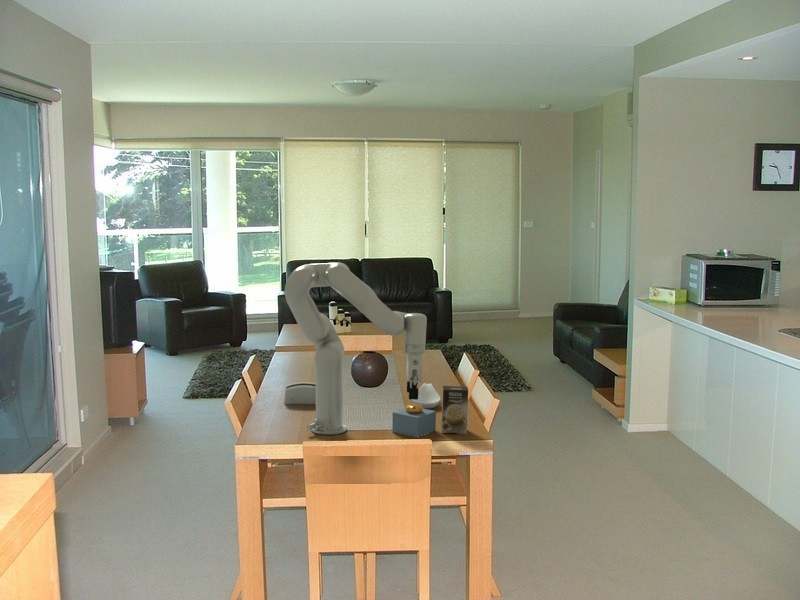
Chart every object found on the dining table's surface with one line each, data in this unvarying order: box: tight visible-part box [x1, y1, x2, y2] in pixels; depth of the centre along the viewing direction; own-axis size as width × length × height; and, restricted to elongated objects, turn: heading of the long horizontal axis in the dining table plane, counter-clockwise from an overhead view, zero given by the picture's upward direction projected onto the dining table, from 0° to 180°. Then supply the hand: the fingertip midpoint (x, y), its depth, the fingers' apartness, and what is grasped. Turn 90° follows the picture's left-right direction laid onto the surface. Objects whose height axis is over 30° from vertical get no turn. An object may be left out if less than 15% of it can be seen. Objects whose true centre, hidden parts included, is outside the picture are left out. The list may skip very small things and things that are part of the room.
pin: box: [405, 403, 423, 414], centre depth 276 cm, size 6×6×9 cm
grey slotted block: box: [283, 381, 316, 405], centre depth 314 cm, size 17×5×10 cm, turn 93°
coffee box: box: [440, 385, 469, 435], centre depth 276 cm, size 9×6×16 cm
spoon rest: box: [410, 382, 441, 410], centre depth 316 cm, size 24×12×7 cm, turn 176°
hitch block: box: [391, 407, 437, 438], centre depth 276 cm, size 11×11×7 cm
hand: (412, 395), depth 275 cm, fingers open, 9 cm apart
